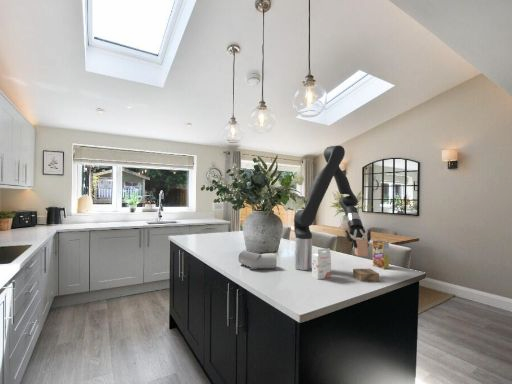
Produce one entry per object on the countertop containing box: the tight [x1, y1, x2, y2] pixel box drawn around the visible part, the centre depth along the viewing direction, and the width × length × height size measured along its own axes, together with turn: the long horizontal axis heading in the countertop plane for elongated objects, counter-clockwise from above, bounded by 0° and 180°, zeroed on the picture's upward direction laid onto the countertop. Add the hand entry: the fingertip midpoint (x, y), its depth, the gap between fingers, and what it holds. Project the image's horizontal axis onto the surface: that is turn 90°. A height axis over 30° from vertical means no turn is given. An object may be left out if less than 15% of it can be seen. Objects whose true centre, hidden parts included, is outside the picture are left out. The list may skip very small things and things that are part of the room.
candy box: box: [372, 239, 390, 270], centre depth 154 cm, size 9×4×15 cm, turn 17°
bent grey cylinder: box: [237, 250, 278, 270], centre depth 151 cm, size 18×11×20 cm
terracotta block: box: [354, 238, 369, 257], centre depth 139 cm, size 5×5×8 cm
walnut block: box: [352, 268, 380, 282], centre depth 131 cm, size 9×9×4 cm
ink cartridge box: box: [311, 248, 332, 280], centre depth 133 cm, size 9×5×15 cm, turn 117°
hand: (361, 247), depth 138 cm, fingers closed on terracotta block, 5 cm apart
